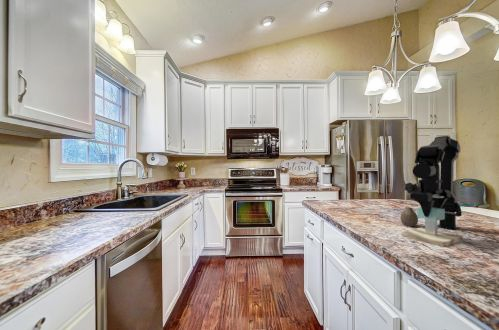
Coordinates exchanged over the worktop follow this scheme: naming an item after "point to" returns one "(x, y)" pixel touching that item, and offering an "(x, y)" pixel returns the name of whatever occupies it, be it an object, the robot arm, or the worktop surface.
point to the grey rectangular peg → (430, 227)
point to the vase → (409, 217)
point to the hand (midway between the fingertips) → (431, 215)
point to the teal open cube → (432, 214)
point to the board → (433, 237)
